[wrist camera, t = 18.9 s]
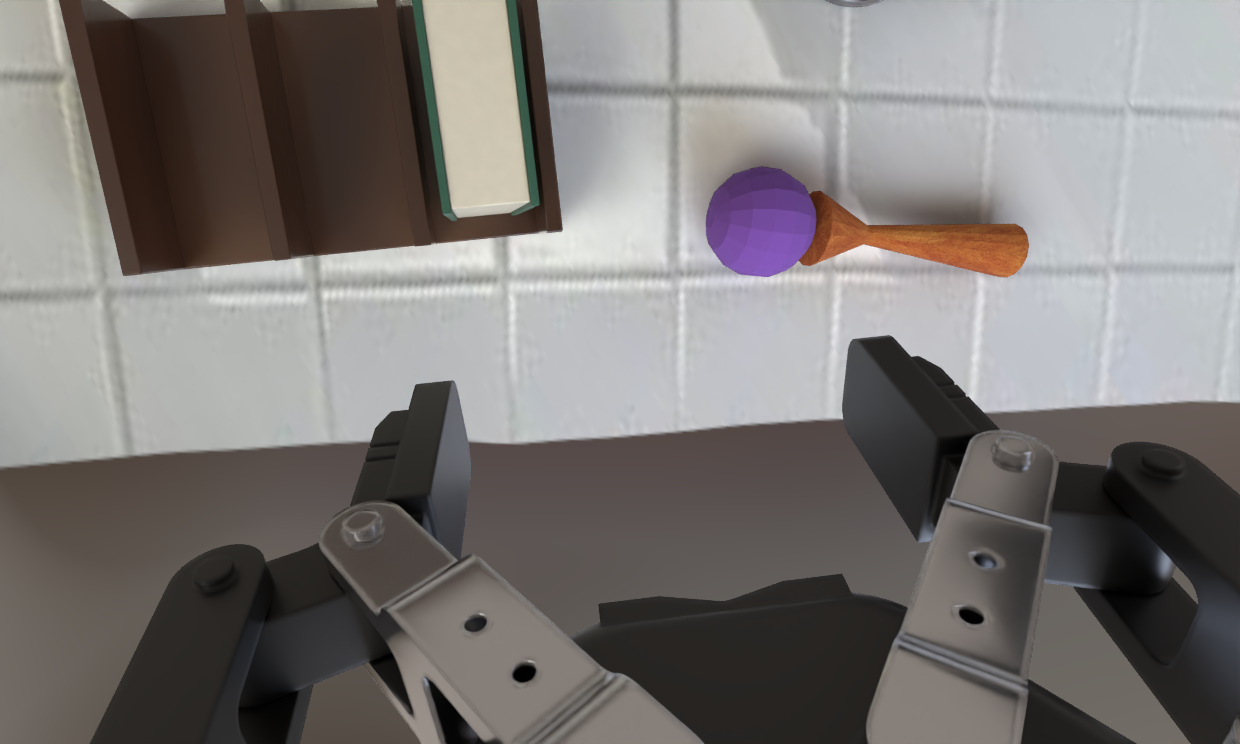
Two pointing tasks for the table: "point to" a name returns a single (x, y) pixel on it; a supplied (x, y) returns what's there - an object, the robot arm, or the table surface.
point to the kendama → (837, 231)
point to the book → (477, 106)
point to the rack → (277, 133)
